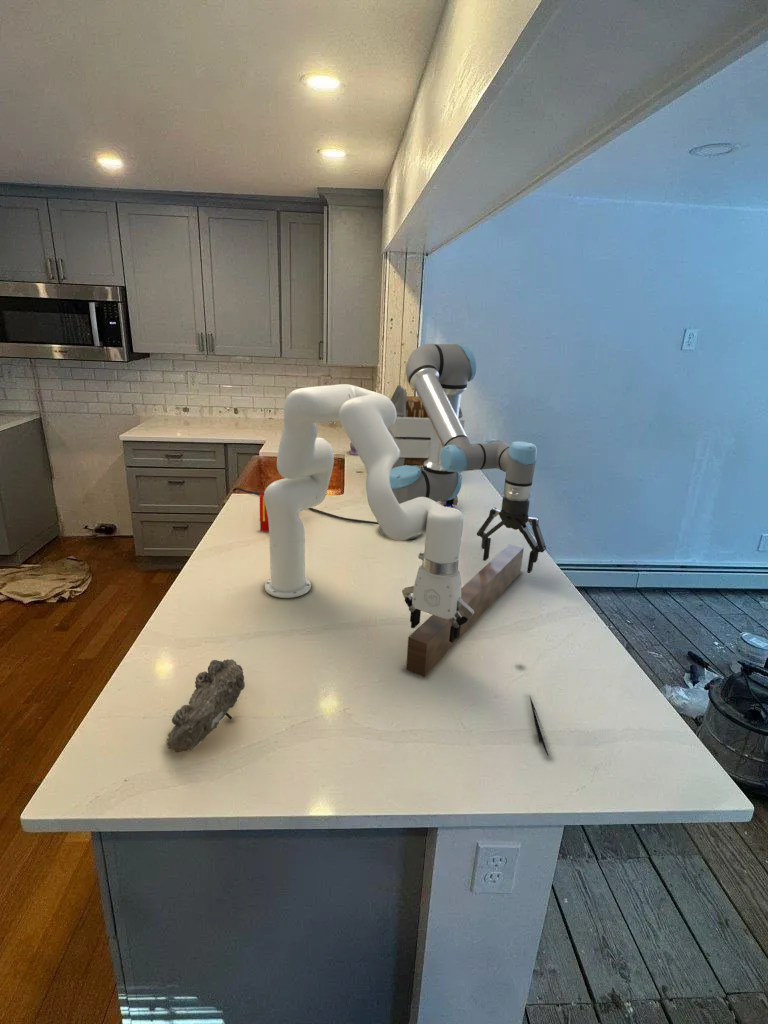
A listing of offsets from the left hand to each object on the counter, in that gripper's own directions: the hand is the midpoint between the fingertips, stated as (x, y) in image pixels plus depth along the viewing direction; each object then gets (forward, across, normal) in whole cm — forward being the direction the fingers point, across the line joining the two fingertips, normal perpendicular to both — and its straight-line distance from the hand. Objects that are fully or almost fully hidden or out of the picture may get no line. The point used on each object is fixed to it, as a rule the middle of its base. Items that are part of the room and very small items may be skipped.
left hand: (434, 632), depth 128 cm
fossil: (+7, -26, -42) cm, 50 cm away
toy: (+8, -87, +47) cm, 99 cm away
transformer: (+8, -75, +135) cm, 154 cm away
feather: (+6, +25, -4) cm, 26 cm away
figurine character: (+7, -43, +100) cm, 109 cm away
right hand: (+2, 0, +48) cm, 48 cm away
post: (+6, 0, +24) cm, 25 cm away
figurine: (+8, -120, +148) cm, 191 cm away
